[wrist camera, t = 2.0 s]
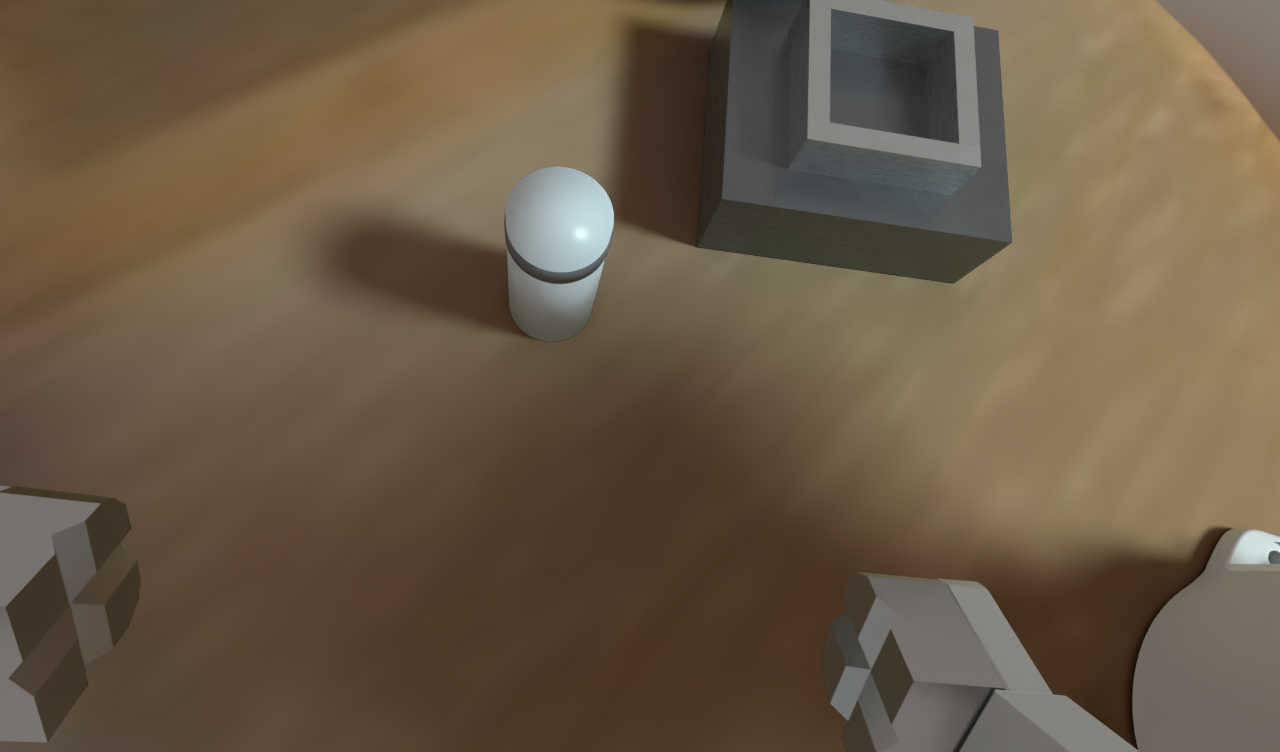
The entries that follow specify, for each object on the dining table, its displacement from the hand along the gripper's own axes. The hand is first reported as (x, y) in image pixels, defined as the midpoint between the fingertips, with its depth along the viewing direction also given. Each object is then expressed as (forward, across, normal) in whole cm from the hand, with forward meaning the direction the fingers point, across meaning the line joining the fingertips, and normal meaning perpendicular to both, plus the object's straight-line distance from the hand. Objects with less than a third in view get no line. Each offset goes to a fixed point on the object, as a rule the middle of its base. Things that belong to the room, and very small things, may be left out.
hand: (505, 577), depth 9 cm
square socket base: (+34, -14, +1) cm, 37 cm away
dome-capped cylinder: (+27, 0, +8) cm, 29 cm away
